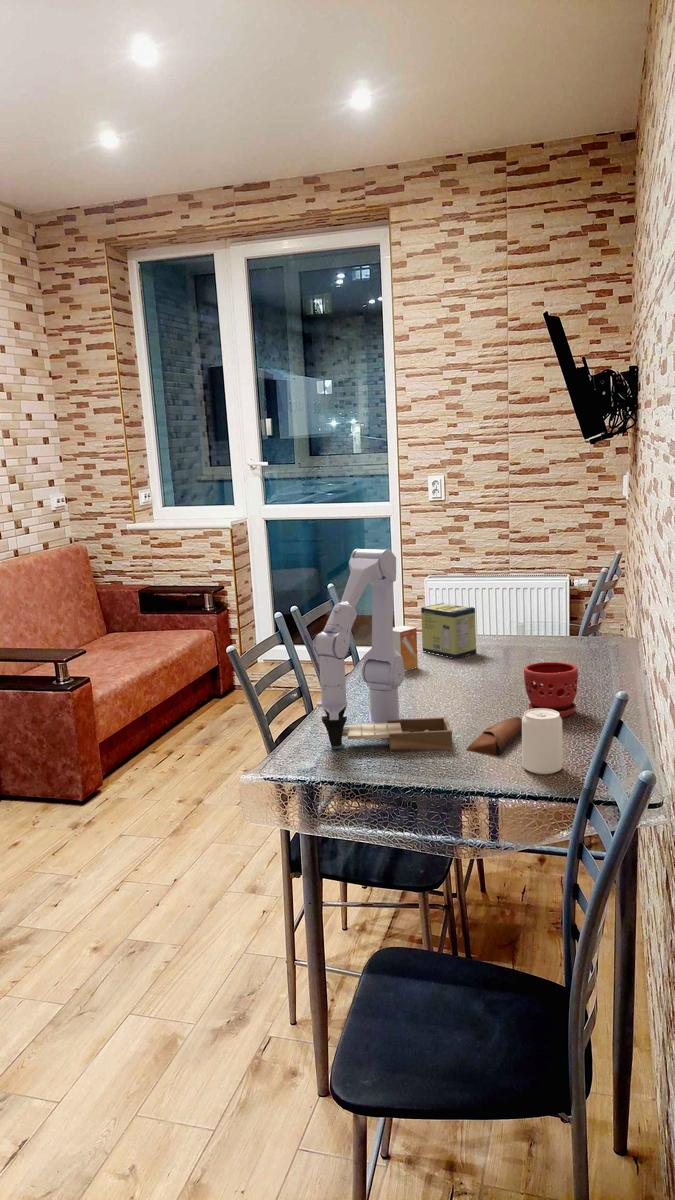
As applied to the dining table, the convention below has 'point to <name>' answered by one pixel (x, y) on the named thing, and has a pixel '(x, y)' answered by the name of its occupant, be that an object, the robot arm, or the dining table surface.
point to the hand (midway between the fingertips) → (336, 740)
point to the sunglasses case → (497, 737)
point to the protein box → (448, 630)
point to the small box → (406, 645)
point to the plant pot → (552, 686)
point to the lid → (370, 731)
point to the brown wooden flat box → (421, 735)
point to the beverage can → (542, 741)
